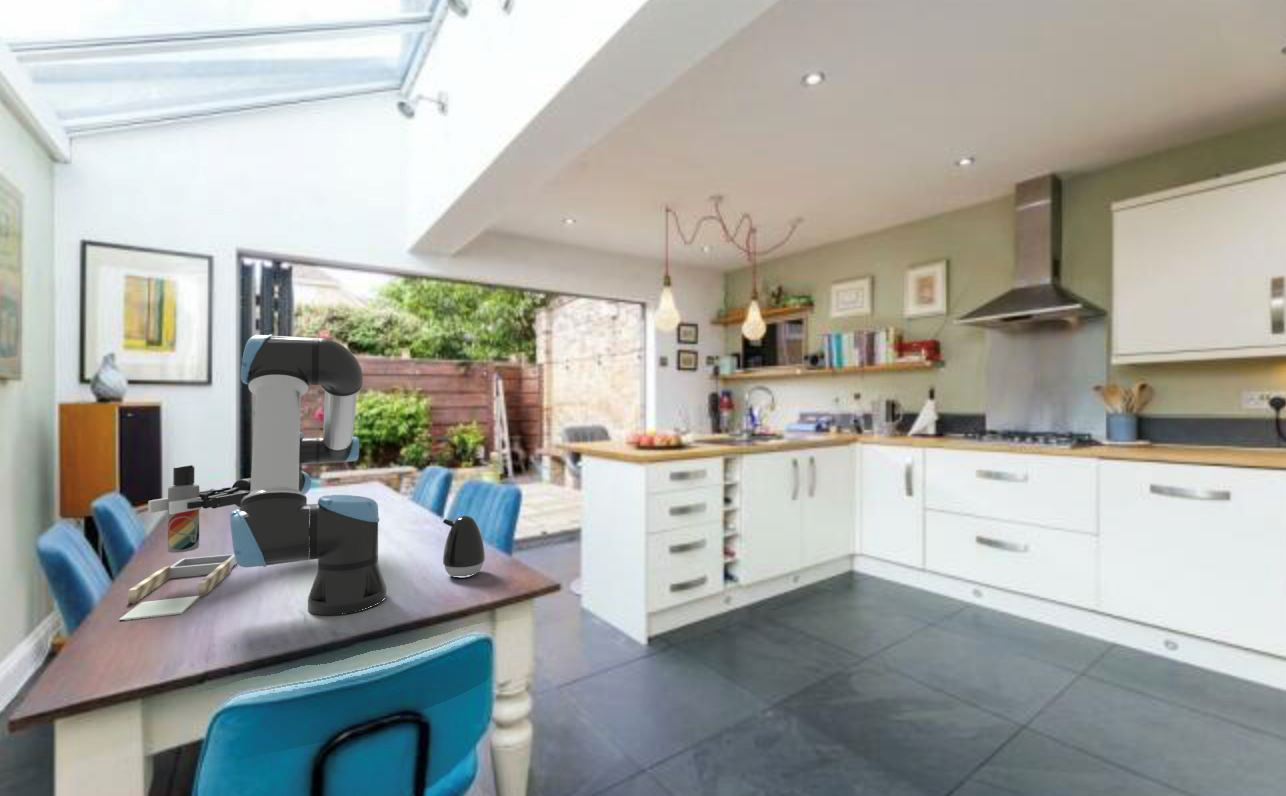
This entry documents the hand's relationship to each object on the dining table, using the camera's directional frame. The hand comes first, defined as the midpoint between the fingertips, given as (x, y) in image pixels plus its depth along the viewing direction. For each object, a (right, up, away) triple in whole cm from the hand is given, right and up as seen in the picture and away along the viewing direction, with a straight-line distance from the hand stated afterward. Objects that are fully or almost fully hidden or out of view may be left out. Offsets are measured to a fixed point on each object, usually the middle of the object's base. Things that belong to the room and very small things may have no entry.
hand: (160, 507), depth 122 cm
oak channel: (+1, -20, +5) cm, 21 cm away
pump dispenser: (+64, -21, +15) cm, 69 cm away
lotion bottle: (+1, -11, +5) cm, 12 cm away
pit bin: (-4, -20, +18) cm, 27 cm away
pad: (+8, -20, -8) cm, 23 cm away
